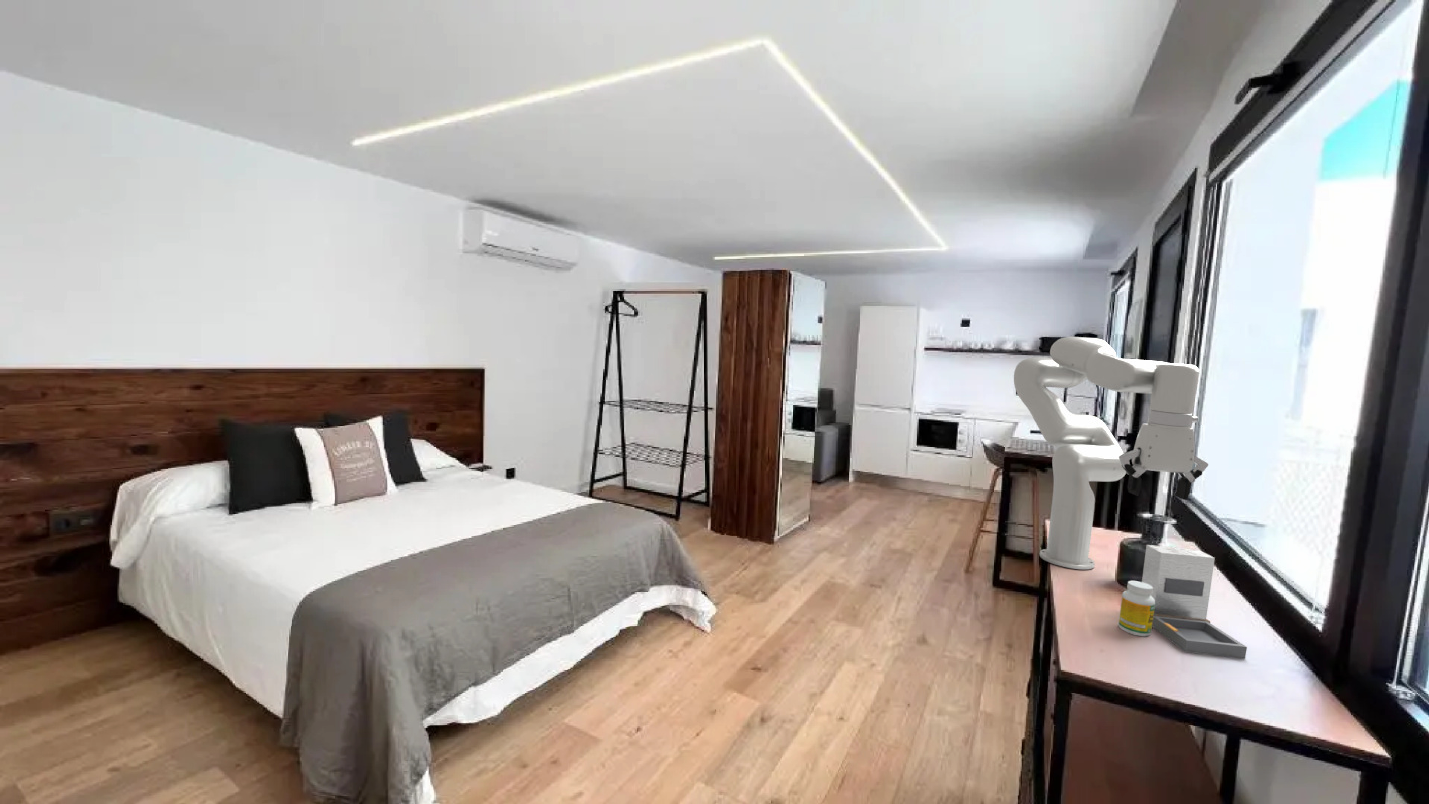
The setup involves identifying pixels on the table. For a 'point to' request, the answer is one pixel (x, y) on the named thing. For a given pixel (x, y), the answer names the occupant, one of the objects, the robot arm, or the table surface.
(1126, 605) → the supplement bottle
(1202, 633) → the tray
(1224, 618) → the table surface
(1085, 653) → the table surface
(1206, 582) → the box
